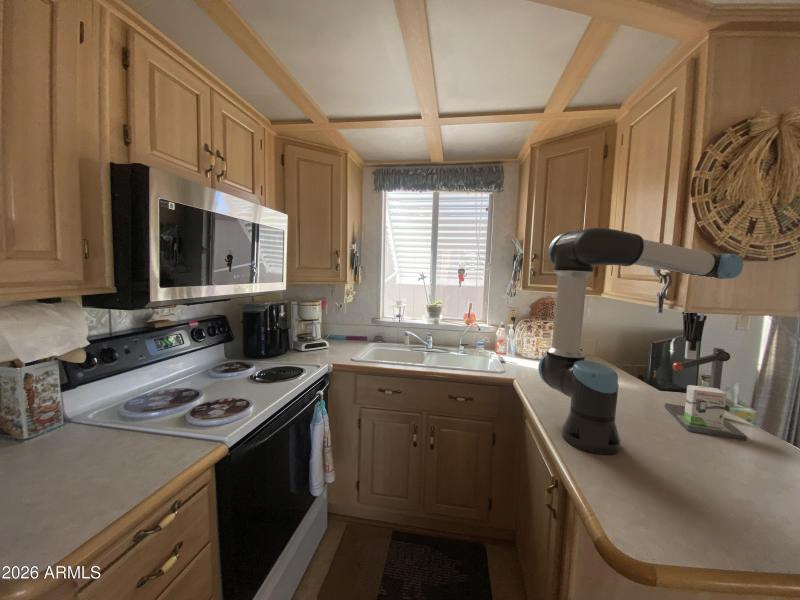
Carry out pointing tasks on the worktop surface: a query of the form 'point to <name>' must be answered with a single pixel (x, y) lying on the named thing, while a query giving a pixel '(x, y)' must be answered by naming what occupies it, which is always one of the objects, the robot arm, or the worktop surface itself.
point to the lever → (702, 360)
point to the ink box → (705, 406)
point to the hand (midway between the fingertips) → (690, 358)
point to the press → (726, 431)
